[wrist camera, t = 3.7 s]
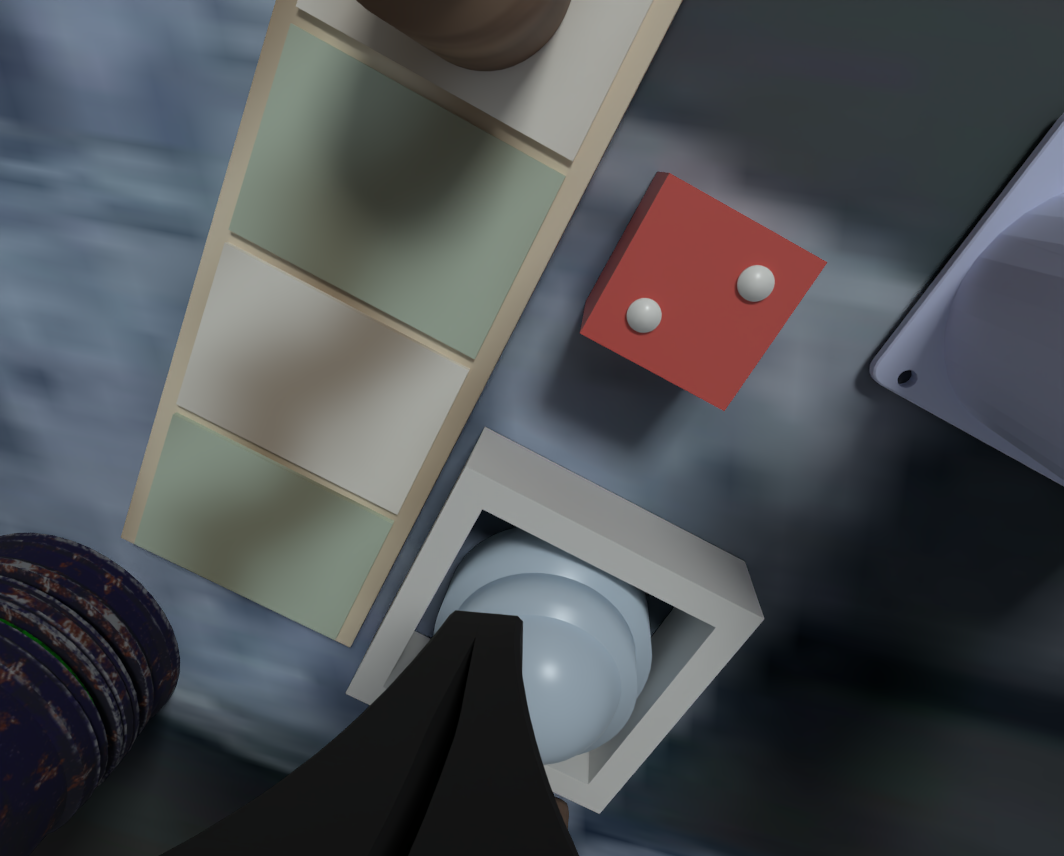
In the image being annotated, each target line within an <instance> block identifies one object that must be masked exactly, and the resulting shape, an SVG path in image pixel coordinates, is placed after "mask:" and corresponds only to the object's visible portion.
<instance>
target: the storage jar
mask: <svg viewBox="0 0 1064 856" xmlns="http://www.w3.org/2000/svg"><path fill="white" fill-rule="evenodd" d="M179 670H180V657H179V650H178V644H177V641H176V638H175V635H174V632H173V629H172V627H171V625H170V623H169V621H168V619H167V617H166V616H165V614H164V612H163V611H162V609H161V608H160V606H159V605H158V603H157V602H156V601H155V599H154V598H153V597H152V596H151V594H150V593H149V592H148V591H147V590H146V589H145V588H144V587H143V586H142V584H141V583H139V582H138V581H137V580H136V579H135V578H134V577H133V576H132V575H130V574H129V573H128V572H127V571H126V570H125V569H123V568H122V567H120V566H119V565H117V564H116V563H115V562H113V561H112V560H110V559H109V558H107V557H105V556H104V555H102V554H100V553H98V552H96V551H94V550H93V549H91V548H88V547H86V546H83V545H81V544H79V543H76V542H74V541H71V540H67V539H64V538H60V537H56V536H53V535H46V534H38V533H14V534H9V535H3V536H0V856H29V855H30V854H31V853H32V851H33V850H34V849H35V848H36V847H37V845H38V844H39V843H40V842H41V841H42V840H43V838H44V837H45V836H46V835H47V834H49V833H51V832H54V831H55V830H57V829H58V828H60V827H61V826H63V825H64V824H65V823H67V822H68V820H69V819H70V818H71V817H72V816H73V815H74V814H75V812H76V811H77V810H78V809H79V808H80V807H81V806H82V805H83V804H84V803H85V802H86V801H87V800H88V799H89V798H90V796H91V795H92V793H93V791H94V789H95V788H96V787H98V786H99V785H100V784H102V783H103V782H104V781H105V780H106V778H107V777H108V776H109V775H110V774H111V773H112V771H113V770H114V769H115V768H116V766H117V765H118V764H119V763H120V762H121V760H122V759H123V758H124V757H125V755H126V754H127V753H128V752H129V751H130V749H131V747H132V745H133V743H134V741H135V739H136V738H137V736H138V735H139V734H140V733H141V732H142V730H143V729H144V728H145V726H146V724H147V722H148V720H150V719H151V718H152V717H154V716H155V715H156V713H157V712H158V711H159V710H160V709H161V707H162V706H163V705H164V704H165V703H166V701H167V700H168V699H169V698H170V697H171V695H172V693H173V691H174V689H175V687H176V684H177V680H178V676H179Z"/></svg>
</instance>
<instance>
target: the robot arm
mask: <svg viewBox="0 0 1064 856" xmlns="http://www.w3.org/2000/svg"><path fill="white" fill-rule="evenodd" d="M906 370H911V374H912V375H911V377H910V379H909V380H908V381H907V382H905V383H901V384H899V383H898V380H897V379H898V377H899V375H900V374H901V373H902V372H903V371H906ZM869 372H870V375H871V377H872V378H873V379H874V380H875V381H876V382H877V383H878V384H880V385H881V386H883V387H885V388H887V389H888V390H890V391H892V392H894V393H896V394H898V395H899V396H901V397H903V398H905V399H907V400H908V401H910V402H912V403H914V404H916V405H917V406H919V407H921V408H923V409H925V410H926V411H928V412H930V413H932V414H934V415H935V416H937V417H939V418H941V419H943V420H945V421H946V422H948V423H950V424H952V425H954V426H955V427H957V428H959V429H961V430H963V431H964V432H966V433H968V434H970V435H972V436H973V437H975V438H977V439H979V440H981V441H982V442H984V443H986V444H988V445H990V446H992V447H993V448H995V449H997V450H999V451H1001V452H1002V453H1004V454H1006V455H1008V456H1010V457H1011V458H1013V459H1015V460H1017V461H1019V462H1020V463H1022V464H1024V465H1026V466H1028V467H1029V468H1031V469H1033V470H1035V471H1037V472H1039V473H1040V474H1042V475H1044V476H1046V477H1048V478H1049V479H1051V480H1053V481H1055V482H1057V483H1058V484H1060V485H1062V486H1064V113H1063V114H1062V115H1061V116H1060V117H1059V118H1058V120H1057V121H1056V122H1055V124H1054V125H1053V126H1052V127H1051V129H1050V130H1049V131H1048V133H1047V134H1046V135H1045V137H1044V138H1043V139H1042V140H1041V142H1040V143H1039V144H1038V146H1037V147H1036V148H1035V149H1034V151H1033V152H1032V153H1031V155H1030V156H1029V157H1028V159H1027V160H1026V161H1025V162H1024V164H1023V165H1022V166H1021V168H1020V169H1019V170H1018V172H1017V173H1016V174H1015V175H1014V177H1013V178H1012V179H1011V181H1010V182H1009V183H1008V185H1007V186H1006V187H1005V188H1004V190H1003V191H1002V192H1001V194H1000V195H999V196H998V198H997V199H996V200H995V201H994V203H993V204H992V205H991V207H990V208H989V209H988V211H987V212H986V213H985V214H984V216H983V217H982V218H981V220H980V221H979V222H978V223H977V225H976V226H975V227H974V229H973V230H972V231H971V233H970V234H969V235H968V236H967V238H966V239H965V240H964V242H963V243H962V244H961V246H960V247H959V248H958V249H957V251H956V252H955V253H954V255H953V256H952V257H951V259H950V260H949V261H948V262H947V264H946V265H945V266H944V268H943V269H942V270H941V272H940V273H939V274H938V275H937V277H936V278H935V279H934V281H933V282H932V283H931V285H930V286H929V287H928V288H927V290H926V291H925V292H924V294H923V295H922V296H921V297H920V299H919V300H918V301H917V303H916V304H915V305H914V307H913V308H912V309H911V310H910V312H909V313H908V314H907V316H906V317H905V318H904V320H903V321H902V322H901V323H900V325H899V326H898V327H897V329H896V330H895V331H894V333H893V334H892V335H891V336H890V338H889V339H888V340H887V342H886V343H885V344H884V346H883V347H882V348H881V349H880V351H879V352H878V353H877V355H876V356H875V357H874V359H873V360H872V362H871V364H870V370H869ZM522 663H523V621H522V620H521V619H520V618H519V617H518V616H515V615H503V614H492V613H481V612H470V611H459V610H455V611H454V612H453V613H451V614H450V615H449V616H448V618H447V619H446V620H445V622H444V623H443V624H442V626H441V627H440V628H439V629H438V631H437V632H436V633H435V634H434V636H433V637H432V638H431V639H430V641H429V642H428V643H427V644H426V645H425V647H424V648H423V649H422V650H421V651H420V652H419V654H418V655H417V656H416V657H415V658H414V659H413V661H412V662H411V663H410V664H409V665H408V666H407V667H406V668H405V669H404V671H403V672H402V673H401V674H400V675H399V676H398V677H397V678H396V679H395V681H394V682H393V683H392V684H391V685H390V686H389V687H388V688H387V689H386V690H385V691H384V692H383V693H382V694H381V695H380V696H379V697H378V698H377V699H376V700H375V701H374V702H373V703H372V704H371V705H370V706H369V707H368V708H367V709H366V710H365V711H364V712H363V713H362V714H361V715H360V716H359V717H358V718H357V719H356V720H354V721H353V722H352V723H351V724H350V725H349V726H348V727H347V728H346V729H345V730H343V731H342V732H341V733H340V734H339V735H338V736H337V737H336V738H334V739H333V740H332V741H331V742H330V743H328V744H327V745H326V746H325V747H324V748H322V749H321V750H320V751H319V752H318V753H316V754H315V755H314V756H313V757H311V758H310V759H309V760H307V761H306V762H305V763H304V764H302V765H301V766H300V767H298V768H297V769H296V770H294V771H293V772H292V773H291V774H289V775H288V776H287V777H285V778H284V779H283V780H281V781H280V782H279V783H277V784H276V785H274V786H273V787H272V788H270V789H269V790H267V791H266V792H264V793H263V794H262V795H260V796H259V797H257V798H255V799H254V800H252V801H251V802H249V803H248V804H246V805H245V806H243V807H242V808H240V809H238V810H237V811H235V812H234V813H232V814H231V815H229V816H228V817H226V818H224V819H223V820H221V821H220V822H218V823H216V824H215V825H213V826H211V827H210V828H208V829H206V830H205V831H203V832H201V833H200V834H198V835H196V836H194V837H193V838H191V839H189V840H187V841H185V842H183V843H182V844H180V845H178V846H176V847H174V848H172V849H170V850H169V851H167V852H165V853H163V854H161V855H159V856H579V855H578V852H577V850H576V848H575V845H574V843H573V841H572V838H571V836H570V834H569V831H568V829H567V827H566V824H565V822H564V820H563V817H562V815H561V813H560V810H559V808H558V805H557V802H556V800H555V797H554V794H553V792H552V789H551V786H550V783H549V780H548V777H547V774H546V771H545V768H544V765H543V762H542V759H541V756H540V752H539V749H538V745H537V742H536V738H535V734H534V730H533V726H532V722H531V718H530V714H529V709H528V705H527V699H526V693H525V688H524V682H523V675H522Z"/></svg>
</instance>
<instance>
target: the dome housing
mask: <svg viewBox="0 0 1064 856" xmlns="http://www.w3.org/2000/svg"><path fill="white" fill-rule="evenodd" d="M482 509H483V510H485V511H487V512H489V513H491V514H493V515H495V516H497V517H499V518H501V519H503V520H505V521H507V522H509V523H511V524H512V525H514V526H516V527H518V528H520V529H522V530H524V531H526V532H528V533H530V534H532V535H534V536H536V537H538V538H540V539H542V540H544V541H546V542H548V543H550V544H552V545H554V546H556V547H558V548H560V549H562V550H564V551H566V552H568V553H570V554H572V555H574V556H576V557H578V558H580V559H582V560H583V561H585V562H587V563H589V564H591V565H593V566H595V567H597V568H599V569H601V570H603V571H605V572H607V573H609V574H611V575H613V576H615V577H617V578H619V579H621V580H623V581H625V582H627V583H629V584H631V585H633V586H635V587H637V588H639V589H641V590H643V591H645V592H647V593H649V594H651V595H653V596H654V597H656V598H658V599H660V600H662V601H664V602H666V603H668V604H670V605H672V606H674V608H673V610H672V611H671V612H670V614H669V615H668V616H667V617H666V619H665V620H664V621H663V623H662V624H661V625H660V627H659V628H658V629H657V631H656V632H655V633H654V634H653V636H652V637H651V648H652V661H651V669H650V673H649V676H648V680H647V682H646V684H645V686H644V688H643V690H642V692H641V693H640V695H639V696H638V698H637V699H636V703H635V706H634V710H633V712H632V714H631V716H630V718H629V720H628V721H627V723H626V724H625V726H624V727H623V728H622V729H621V730H620V731H619V732H618V734H617V735H615V736H614V737H613V738H612V739H611V740H609V741H608V742H606V743H605V744H603V745H601V746H600V747H598V748H596V749H594V750H591V751H589V752H586V753H583V754H580V755H577V756H574V757H572V758H570V759H568V760H565V761H562V762H559V763H554V764H547V765H544V768H545V771H546V774H547V777H548V780H549V783H550V786H551V789H552V792H554V793H556V794H558V795H561V796H563V797H565V798H567V799H569V800H571V801H573V802H575V803H577V804H580V805H582V806H584V807H586V808H588V809H590V810H592V811H594V812H596V813H599V814H600V813H601V811H602V810H603V809H604V808H605V807H606V806H607V804H608V803H609V802H610V801H611V800H612V798H613V797H614V796H615V795H616V794H617V793H618V791H619V790H620V789H621V788H622V787H623V785H624V784H625V783H626V782H627V781H628V780H629V778H630V777H631V776H632V775H633V774H634V772H635V771H636V770H637V769H638V768H639V767H640V765H641V764H642V763H643V762H644V761H645V759H646V758H647V757H648V756H649V755H650V754H651V752H652V751H653V750H654V749H655V748H656V746H657V745H658V744H659V743H660V742H661V741H662V739H663V738H664V737H665V736H666V735H667V733H668V732H669V731H670V730H671V729H672V728H673V726H674V725H675V724H676V723H677V722H678V720H679V719H680V718H681V717H682V716H683V715H684V713H685V712H686V711H687V710H688V709H689V708H690V706H691V705H692V704H693V703H694V702H695V700H696V699H697V698H698V697H699V696H700V695H701V693H702V692H703V691H704V690H705V689H706V687H707V686H708V685H709V684H710V683H711V682H712V680H713V679H714V678H715V677H716V676H717V674H718V673H719V672H720V671H721V670H722V669H723V667H724V666H725V665H726V664H727V663H728V661H729V660H730V659H731V658H732V657H733V656H734V654H735V653H736V652H737V651H738V650H739V648H740V647H741V646H742V645H743V644H744V643H745V641H746V640H747V639H748V638H749V637H750V635H751V634H752V633H753V632H754V631H755V630H756V628H757V627H758V626H759V625H760V624H761V622H762V621H763V620H764V616H763V613H762V610H761V607H760V604H759V601H758V598H757V595H756V592H755V590H754V587H753V584H752V581H751V578H750V575H749V572H748V569H747V566H746V563H745V561H743V560H741V559H739V558H737V557H735V556H733V555H731V554H729V553H727V552H726V551H724V550H722V549H720V548H718V547H716V546H714V545H712V544H710V543H708V542H706V541H704V540H702V539H700V538H698V537H697V536H695V535H693V534H691V533H689V532H687V531H685V530H683V529H681V528H679V527H677V526H675V525H673V524H671V523H670V522H668V521H666V520H664V519H662V518H660V517H658V516H656V515H654V514H652V513H650V512H648V511H646V510H644V509H643V508H641V507H639V506H637V505H635V504H633V503H631V502H629V501H627V500H625V499H623V498H621V497H619V496H617V495H616V494H614V493H612V492H610V491H608V490H606V489H604V488H602V487H600V486H598V485H596V484H594V483H592V482H590V481H589V480H587V479H585V478H583V477H581V476H579V475H577V474H575V473H573V472H571V471H569V470H567V469H565V468H563V467H561V466H560V465H558V464H556V463H554V462H552V461H550V460H548V459H546V458H544V457H542V456H540V455H538V454H536V453H534V452H533V451H531V450H529V449H527V448H525V447H523V446H521V445H519V444H517V443H515V442H513V441H511V440H509V439H507V438H506V437H504V436H502V435H500V434H498V433H496V432H494V431H492V430H490V429H488V428H486V427H485V428H484V429H483V431H482V433H481V435H480V437H479V439H478V441H477V443H476V445H475V446H474V448H473V450H472V452H471V454H470V456H469V458H468V460H467V462H466V464H465V465H464V467H463V469H462V471H461V473H460V475H459V477H458V479H457V481H456V482H455V484H454V486H453V488H452V490H451V492H450V494H449V496H448V498H447V499H446V501H445V503H444V505H443V507H442V509H441V511H440V513H439V515H438V517H437V518H436V520H435V522H434V524H433V526H432V528H431V530H430V532H429V534H428V535H427V537H426V539H425V541H424V543H423V545H422V547H421V549H420V551H419V552H418V554H417V556H416V558H415V560H414V562H413V564H412V566H411V568H410V570H409V571H408V573H407V575H406V577H405V579H404V581H403V583H402V585H401V587H400V588H399V590H398V592H397V594H396V596H395V598H394V600H393V602H392V604H391V605H390V607H389V609H388V611H387V613H386V615H385V617H384V619H383V621H382V623H381V624H380V626H379V628H378V630H377V632H376V634H375V636H374V638H373V640H372V642H371V644H370V646H369V648H368V650H367V652H366V654H365V656H364V658H363V660H362V662H361V664H360V666H359V668H358V670H357V672H356V674H355V676H354V677H353V679H352V681H351V683H350V685H349V687H348V689H347V691H346V693H345V694H347V695H349V696H352V697H354V698H356V699H358V700H360V701H362V702H364V703H366V704H368V705H371V704H372V703H373V702H374V701H375V700H376V699H377V698H378V697H379V696H380V695H381V694H382V693H383V692H384V691H385V690H386V689H387V688H388V687H389V686H390V685H391V684H392V683H393V682H394V681H395V679H396V678H397V677H398V676H399V675H400V674H401V673H402V672H403V671H404V669H405V668H406V667H407V666H408V665H409V664H410V663H411V662H412V661H413V659H414V658H415V657H416V656H417V655H418V654H419V652H420V651H421V650H422V649H423V648H424V647H425V645H426V644H427V643H428V642H429V641H430V638H428V637H426V636H424V635H422V634H420V633H418V632H416V631H414V630H415V629H416V627H417V625H418V623H419V622H420V620H421V618H422V616H423V614H424V613H425V611H426V609H427V607H428V605H429V604H430V602H431V600H432V598H433V597H434V595H435V593H436V591H437V589H438V588H439V586H440V584H441V582H442V580H443V579H444V577H445V575H446V573H447V572H448V570H449V568H450V566H451V564H452V563H453V561H454V559H455V557H456V555H457V554H458V552H459V550H460V548H461V547H462V545H463V543H464V541H465V539H466V538H467V536H468V534H469V532H470V530H471V529H472V527H473V525H474V523H475V522H476V520H477V518H478V516H479V514H480V513H481V511H482Z"/></svg>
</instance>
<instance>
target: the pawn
mask: <svg viewBox="0 0 1064 856" xmlns="http://www.w3.org/2000/svg"><path fill="white" fill-rule="evenodd" d="M356 1H357V2H358V3H360V4H361V5H362V6H363V7H364V8H365V9H367V10H368V11H370V12H371V13H373V14H374V15H376V16H377V17H379V18H380V19H382V20H383V21H385V22H386V23H388V24H390V25H391V26H393V27H394V28H396V29H397V30H399V31H400V32H402V33H404V34H405V35H407V36H408V37H410V38H411V39H413V40H414V41H416V42H418V43H419V44H421V45H422V46H424V47H425V48H427V49H428V50H430V51H432V52H433V53H435V54H436V55H438V56H439V57H441V58H442V59H444V60H446V61H447V62H449V63H452V64H454V65H456V66H458V67H462V68H465V69H468V70H474V71H496V70H503V69H506V68H509V67H513V66H515V65H517V64H519V63H521V62H523V61H525V60H527V59H528V58H530V57H531V56H533V55H534V54H535V53H537V52H538V51H539V50H540V49H541V48H542V47H543V46H544V45H545V44H546V43H547V42H548V41H549V40H550V39H551V38H552V36H553V35H554V33H555V32H556V31H557V29H558V28H559V26H560V24H561V23H562V21H563V19H564V17H565V15H566V13H567V10H568V8H569V5H570V2H571V0H356Z"/></svg>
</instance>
